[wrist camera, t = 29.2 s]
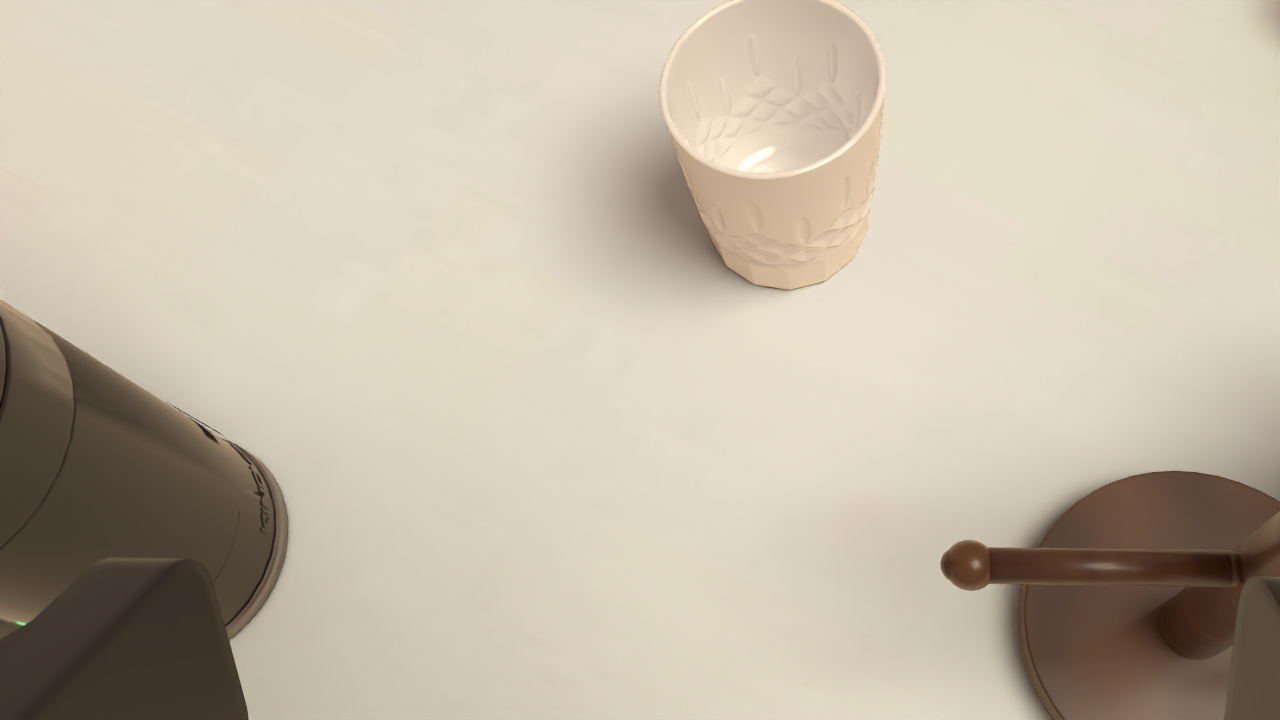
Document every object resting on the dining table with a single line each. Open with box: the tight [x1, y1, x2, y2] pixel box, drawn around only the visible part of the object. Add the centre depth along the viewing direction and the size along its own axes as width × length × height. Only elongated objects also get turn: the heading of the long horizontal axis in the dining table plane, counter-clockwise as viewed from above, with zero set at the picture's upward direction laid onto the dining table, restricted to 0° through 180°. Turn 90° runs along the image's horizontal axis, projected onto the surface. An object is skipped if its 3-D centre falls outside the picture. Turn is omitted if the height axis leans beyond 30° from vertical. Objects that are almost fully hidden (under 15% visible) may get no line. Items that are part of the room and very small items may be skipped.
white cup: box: [659, 0, 886, 290], centre depth 45 cm, size 8×8×10 cm
